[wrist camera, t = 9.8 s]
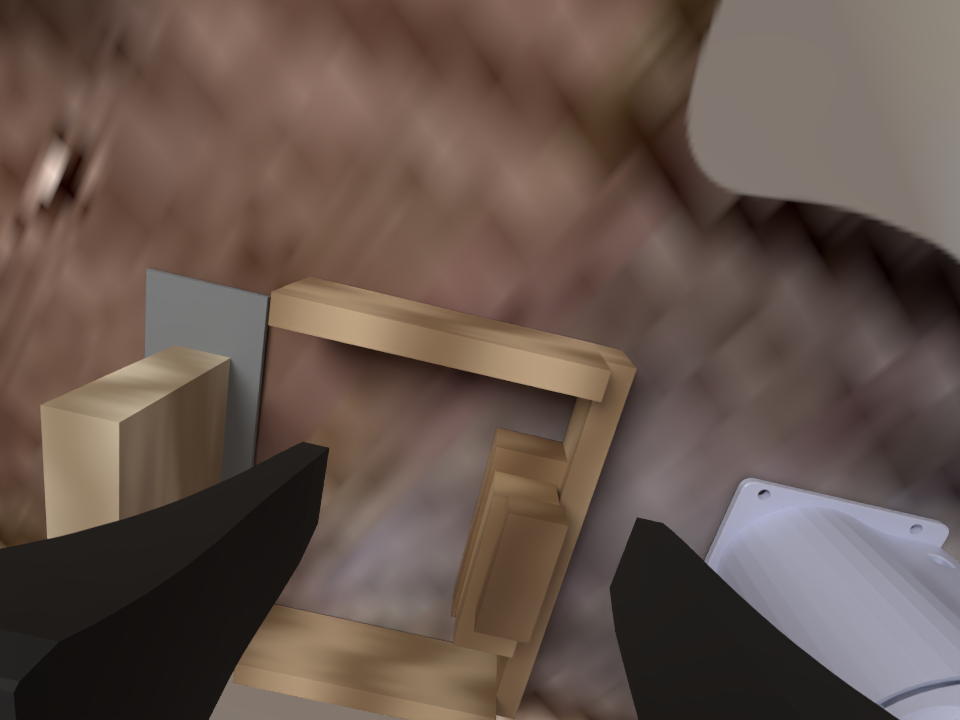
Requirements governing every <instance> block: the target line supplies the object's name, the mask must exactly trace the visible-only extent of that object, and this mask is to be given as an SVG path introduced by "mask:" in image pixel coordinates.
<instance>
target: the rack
mask: <svg viewBox="0 0 960 720" xmlns="http://www.w3.org/2000/svg"><path fill="white" fill-rule="evenodd" d="M268 325H270V326H275V327H279V328H283V329H288V330H292V331H296V332H300V333H305V334H309V335H313V336H318V337H322V338H326V339H331V340H335V341H339V342H344V343H348V344H352V345H357V346H361V347H365V348H369V349H374V350H378V351H382V352H387V353H391V354H395V355H400V356H404V357H408V358H413V359H417V360H421V361H425V362H430V363H434V364H438V365H443V366H447V367H451V368H456V369H460V370H464V371H469V372H473V373H477V374H482V375H486V376H490V377H494V378H499V379H503V380H507V381H512V382H516V383H520V384H525V385H529V386H533V387H538V388H542V389H546V390H551V391H555V392H559V393H563V394H568V395H572V396H576V397H577V400H576V403H575V406H574V409H573V412H572V415H571V419H570V422H569V425H568V428H567V431H566V434H565V438H564V441H563V445H564V449H565V453H566V457H567V461H568V464H567V467H566V470H565V474H564V477H563V480H562V483H561V486H560V489H559V492H558V499H559V504H560V506H564V507H565V511H566V516H567V521H568V529H567V532H566V535H565V538H564V541H563V544H562V547H561V550H560V553H559V556H558V559H557V562H556V565H555V568H554V570H553V573H552V576H551V579H550V582H549V585H548V588H547V591H546V594H545V597H544V600H543V603H542V606H541V609H540V612H539V615H538V618H537V621H536V624H535V627H534V629H533V632H532V635H531V638H530V641H529V644H528V643H523V642H519V641H517V644H516V647H515V650H514V653H513V656H512V658H510V657H506V656H501V655H496V654H492V653H487V652H482V651H478V650H473V649H469V648H464V647H459V646H455V645H453V643H451V642H447V641H442V640H437V639H433V638H428V637H423V636H419V635H414V634H410V633H405V632H400V631H396V630H391V629H387V628H382V627H377V626H373V625H368V624H363V623H359V622H354V621H350V620H345V619H340V618H336V617H331V616H326V615H322V614H317V613H313V612H308V611H303V610H299V609H294V608H289V607H285V606H280V605H276V604H274V605H273V607H272V608H271V610H270V612H269V613H268V615H267V616H266V618H265V620H264V621H263V623H262V624H261V626H260V628H259V629H258V631H257V632H256V634H255V636H254V637H253V639H252V640H251V642H250V644H249V645H248V647H247V649H246V650H245V652H244V653H243V655H242V657H241V659H240V660H239V662H238V664H237V666H236V667H235V669H234V678H233V683H236V684H241V685H245V686H250V687H255V688H260V689H264V690H269V691H274V692H279V693H283V694H288V695H293V696H298V697H302V698H307V699H312V700H317V701H321V702H326V703H331V704H336V705H340V706H345V707H349V708H354V709H359V710H364V711H368V712H373V713H378V714H383V715H388V716H393V717H397V718H402V719H407V720H496V715H498V716H503V717H508V718H512V719H515V716H516V713H517V711H518V708H519V705H520V702H521V699H522V696H523V693H524V690H525V688H526V685H527V682H528V679H529V676H530V673H531V670H532V668H533V665H534V662H535V659H536V656H537V653H538V650H539V648H540V645H541V642H542V639H543V636H544V633H545V630H546V627H547V625H548V622H549V619H550V616H551V613H552V610H553V607H554V605H555V602H556V599H557V596H558V593H559V590H560V587H561V585H562V582H563V579H564V576H565V573H566V570H567V567H568V564H569V562H570V559H571V556H572V553H573V550H574V547H575V544H576V542H577V539H578V536H579V533H580V530H581V527H582V524H583V521H584V519H585V516H586V513H587V510H588V507H589V504H590V501H591V499H592V496H593V493H594V490H595V487H596V484H597V481H598V479H599V476H600V473H601V470H602V467H603V464H604V461H605V458H606V456H607V453H608V450H609V447H610V444H611V441H612V438H613V436H614V433H615V430H616V427H617V424H618V421H619V418H620V415H621V413H622V410H623V407H624V404H625V401H626V398H627V395H628V393H629V390H630V387H631V384H632V381H633V378H634V375H635V373H636V370H637V368H636V367H635V366H634V365H633V363H632V362H631V361H630V360H629V358H628V357H627V356H626V354H625V353H624V352H623V351H622V350H620V349H615V348H611V347H607V346H603V345H598V344H594V343H590V342H586V341H581V340H577V339H573V338H569V337H564V336H560V335H556V334H552V333H547V332H543V331H539V330H535V329H530V328H526V327H522V326H518V325H513V324H509V323H505V322H501V321H496V320H492V319H488V318H484V317H479V316H475V315H471V314H467V313H462V312H458V311H454V310H450V309H445V308H441V307H437V306H433V305H428V304H424V303H420V302H416V301H411V300H407V299H403V298H399V297H394V296H390V295H386V294H382V293H377V292H373V291H369V290H365V289H360V288H356V287H352V286H348V285H343V284H339V283H335V282H331V281H326V280H322V279H318V278H314V277H307V278H304V279H302V280H299V281H297V282H294V283H292V284H289V285H287V286H285V287H282V288H280V289H277V290H275V291H272V292H271V302H270V312H269V322H268Z"/></svg>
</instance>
